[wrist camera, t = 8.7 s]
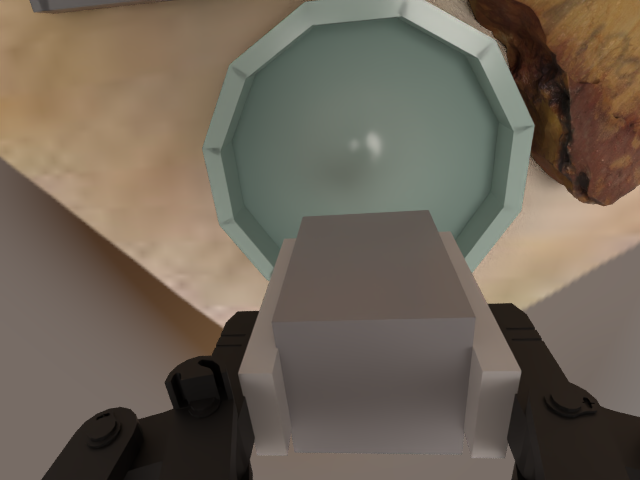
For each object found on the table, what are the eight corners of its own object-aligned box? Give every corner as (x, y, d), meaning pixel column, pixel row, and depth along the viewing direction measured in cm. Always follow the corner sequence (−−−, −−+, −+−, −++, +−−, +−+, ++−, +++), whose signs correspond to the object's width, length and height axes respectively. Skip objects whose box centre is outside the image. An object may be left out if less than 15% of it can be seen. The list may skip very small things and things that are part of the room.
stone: (451, -49, 21) (481, -72, 16) (645, -179, 18) (747, -251, 13) (540, 189, 26) (580, 223, 22) (698, 117, 24) (783, 137, 19)
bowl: (197, 18, 23) (172, 15, 20) (527, -17, 21) (558, -26, 18) (249, 282, 31) (238, 310, 28) (490, 274, 29) (506, 303, 26)
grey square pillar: (302, 216, 14) (271, 321, 9) (428, 209, 14) (475, 317, 8) (314, 316, 16) (294, 452, 11) (425, 313, 16) (461, 454, 10)
